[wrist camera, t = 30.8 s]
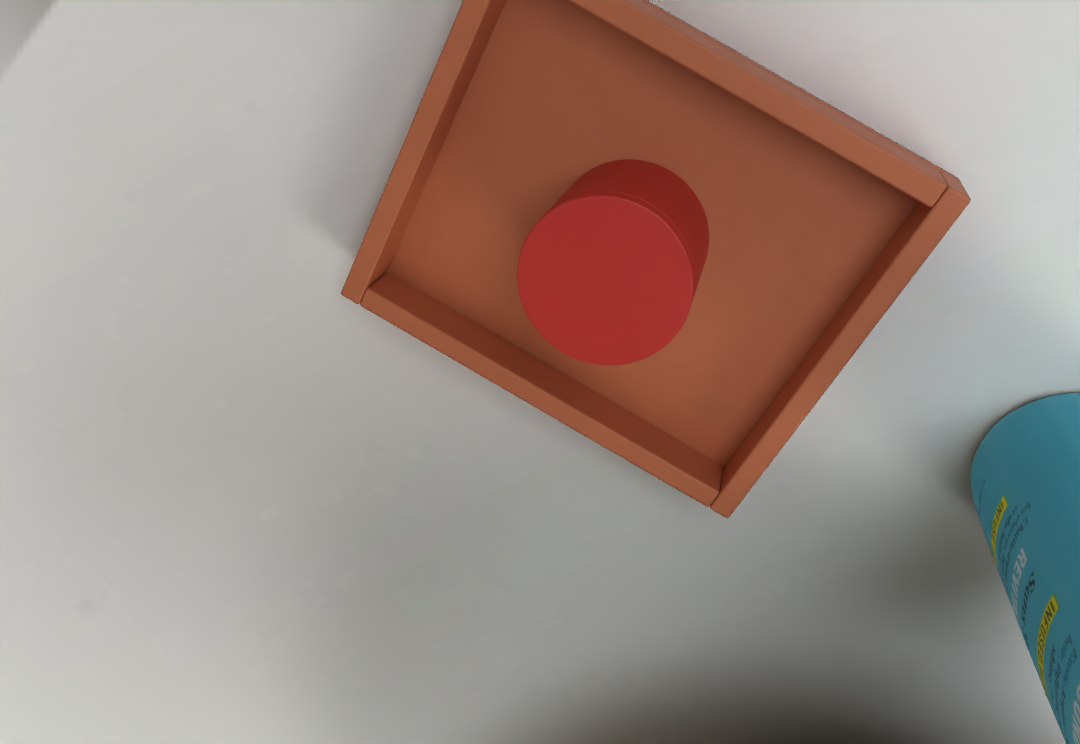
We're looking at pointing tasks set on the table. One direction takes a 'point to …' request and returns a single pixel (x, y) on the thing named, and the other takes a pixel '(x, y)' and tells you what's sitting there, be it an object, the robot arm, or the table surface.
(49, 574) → the table surface
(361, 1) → the table surface
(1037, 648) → the tube
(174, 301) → the table surface
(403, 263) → the tray
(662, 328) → the cap
